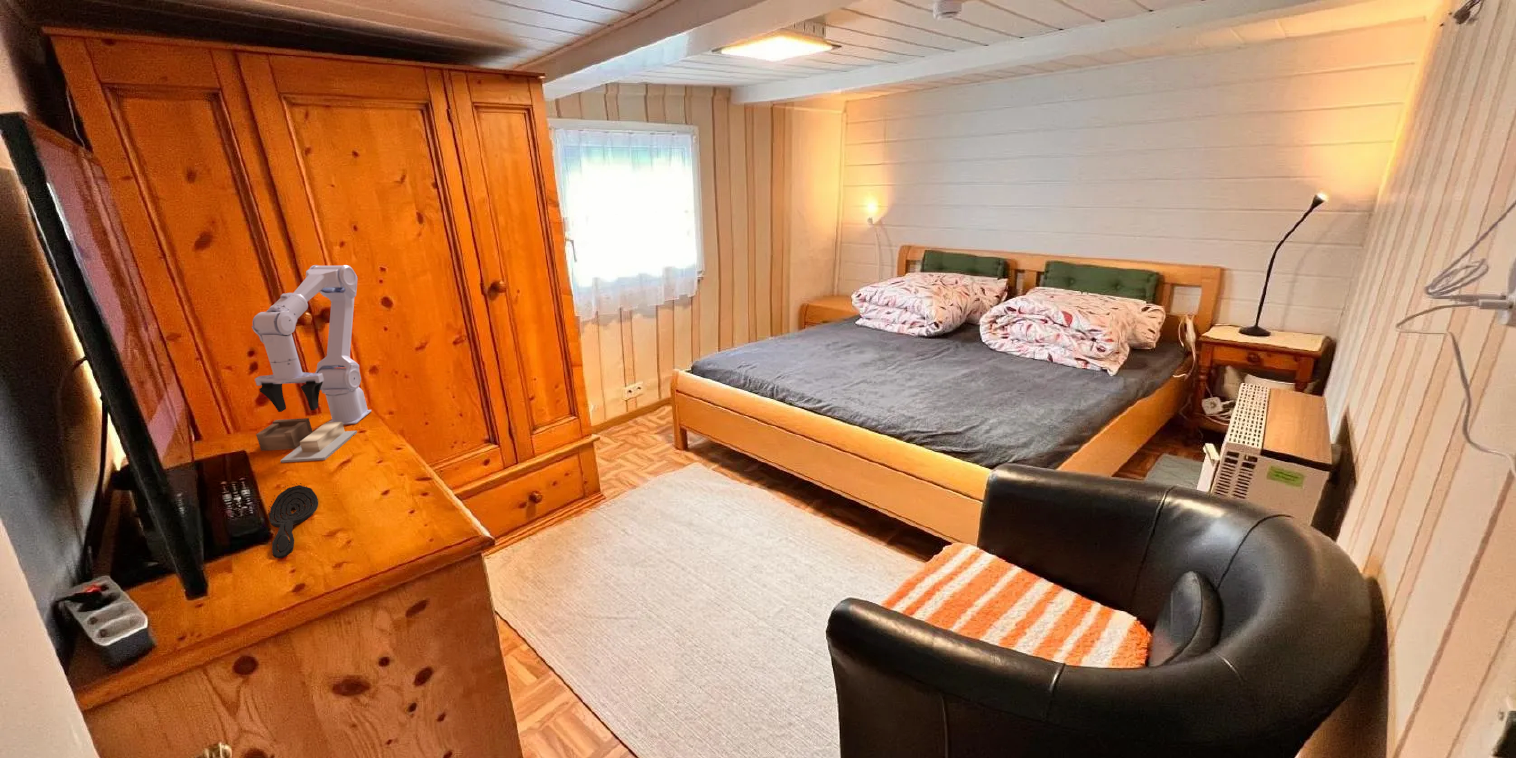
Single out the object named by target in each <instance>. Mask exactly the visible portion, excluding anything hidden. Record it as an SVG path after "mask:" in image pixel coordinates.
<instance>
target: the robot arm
mask: <svg viewBox="0 0 1516 758" xmlns="http://www.w3.org/2000/svg"><path fill="white" fill-rule="evenodd" d="M357 289H358V276H357V274H356V272H355V271H354V269H353V267H351V265H347V264H343V265H318V264H314V265H311V266H310V267H309V268H308V269H307V270H306V271H305V278H304V279H303V281H302V282H301V283H300V285H299V286H298V287H297V288H296V289H295V290H294V291H293V292H287V293H286V292H285V293H282V294H280V296H279V297H280V298H279V299H278V300H277V301H275V302H274V304H273V305H271V306H270V307H269V308H268V309H267V310H266V311H260V312H258V313H257V314H256V315H254V317H253V319H252V325H251V328H252V330H253V332H254V333H255V334H256V335H257V336H258V338H259V340H260V342H261V343H262V344H263V346H264V348H265V351H266V354H267V357H268V362H269V364H270V367H271V370H272V374H269V375H268V374H267V375H260V376H259V375H258V376H257V377H255V378H254V382H255V384H256V386H261V387H260V388H259V392H260V393H261V394H263V395H264V396H265V397H266V398H268V400H269V401H270V402H271V403H272V404H273V406H274V407H275V409H276V410H277V412H279V413H282V412H283V411H285V410H287V406H286V402H285V397H284V393H283V384H285V385H286V384H300V383H301V384H303V385H300V389H301V390H302V391H303V393H304V396H305V398H306V400H307V402H308V403H307V404H308V406H309V408H310V410H311V411H315V410H317V409H318V408H319V397H320V393H322V394H324V395H325V398H326V401H327V405H328V409H329V412H330V416H331V419H329V421H328V422H342V423H343V425H355V424H358V423H359V422H360V421H361V420H362V419H364V418H365V417H366V416H367V415H369V414H370V413H371V412H372V409H368V406H367V401H366V398H365V394H364V391H363V389H362V388H361V387H360V385H361V381H362V377H361V372H360V364H358V362H356V361H355V360H354V359H352V358H351V348H352V347H351V346H352V334H353V333H352V332H353V320H354V310H355V308H354V306H355V297H357ZM318 294H320V295H321V296H323V297H325V298H326V299H328V300H329V301H330V315H329V324H328V337H327V349H326V356H325V357H324V358H323V359H321V360H320V361H318V362H317V365H316V370H315V372H306V371H305V372H304V371H303V370H302V365H301V361H300V357H299V355H298V352H297V347H296V344H295V341H294V337H293V334H292V333H294V332H295V330H296V325H297V323H298V319H299V318H300V317H301V316H302V315H303V314H304V313H305V312H306V311H307V310H308V308H309V304H308V302H309V301H310V300H311V299H312V298H314V297H315V296H316V295H318ZM320 391H321V392H320Z"/></svg>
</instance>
